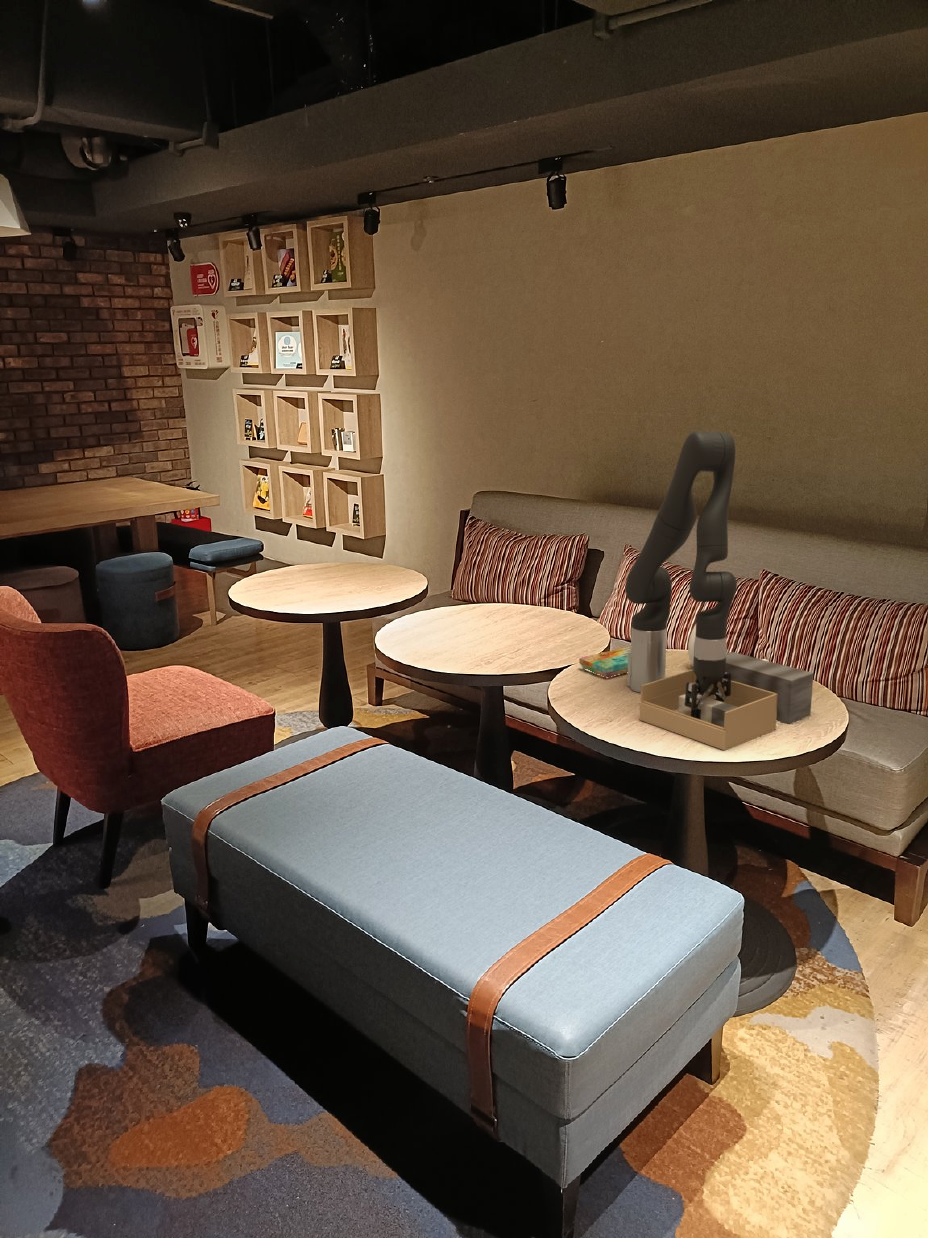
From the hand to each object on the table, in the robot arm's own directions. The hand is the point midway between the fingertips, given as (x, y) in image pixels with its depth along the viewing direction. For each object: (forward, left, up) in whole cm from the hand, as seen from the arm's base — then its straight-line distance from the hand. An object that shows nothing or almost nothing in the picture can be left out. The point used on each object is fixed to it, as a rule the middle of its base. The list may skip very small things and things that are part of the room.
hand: (707, 718), depth 223 cm
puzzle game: (-45, +17, -2) cm, 48 cm away
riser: (0, +20, -2) cm, 20 cm away
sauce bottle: (-29, +34, -2) cm, 44 cm away
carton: (0, 0, -2) cm, 2 cm away
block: (0, 0, -2) cm, 2 cm away
